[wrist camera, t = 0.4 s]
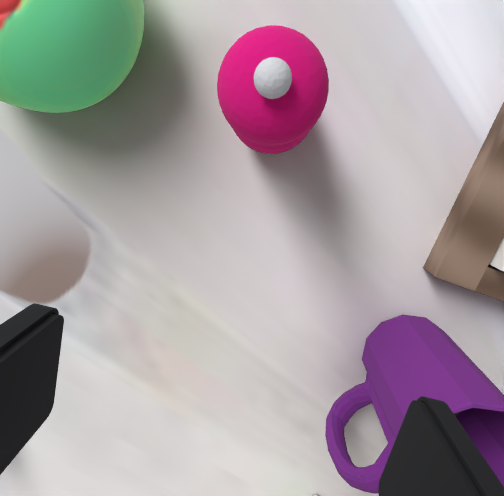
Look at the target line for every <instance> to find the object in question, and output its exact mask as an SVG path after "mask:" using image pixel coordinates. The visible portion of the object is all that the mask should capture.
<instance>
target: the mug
mask: <svg viewBox="0 0 504 496" xmlns="http://www.w3.org/2000/svg"><path fill="white" fill-rule="evenodd" d="M362 361H363V364H364V366H365V368H366V370H367V375H366V382H365V383H362V384H359V385H356V386H355V387H353V388H352V389H350V390H348V391H346V392H345V393H343V394H342V395H341V396H340V397H339V398H338V399H337V400H336V401H335V402H334V404H333V406H332V408H331V410H330V412H329V414H328V416H327V419H326V440H327V446H328V451H329V453H330V455H331V458H332V460H333V462H334V464H335V467H336V469H337V471H338V473H339V474H340V476H341V477H342V478H343V479H344V480H345V481H346V482H347V483H348V484H349V485H350V486H352V487H354V488H357V489H359V490H362V491H365V492H370V493H379V491H378V488H379V481H380V478H381V475H382V473H383V470H384V468H385V465H386V463H387V460H388V458H389V455H390V453H391V450H392V448H393V445H394V443H395V440H396V438H397V435H398V433H399V430H400V428H401V425H402V422H403V420H404V417H405V415H406V412H407V410H408V407H409V405H410V403H411V402H412V401H413V400H417V399H418V398H419V397H421V396H424V397H428V398H432V399H436V400H441V401H444V402H445V403H446V404H447V405H448V406H449V408H450V409H451V411H452V412H453V414H454V415H455V416H456V418H457V419H458V421H459V422H460V424H461V425H462V427H463V428H464V430H465V431H466V432H467V434H468V435H469V437H470V438H471V440H472V441H473V443H474V444H475V446H476V447H477V448H478V450H479V451H480V453H481V454H482V456H483V457H484V459H485V460H486V462H487V463H488V465H489V466H490V467H491V469H492V470H493V472H494V473H495V475H496V476H497V478H498V479H499V481H500V482H501V483H502V485H503V486H504V395H503V394H502V392H501V391H500V390H499V389H498V388H497V387H496V386H495V385H494V384H493V383H492V382H491V381H490V380H489V379H488V378H487V377H486V375H485V374H484V373H483V372H482V371H481V370H480V369H479V368H478V367H477V366H476V365H475V364H474V363H473V362H472V361H471V359H470V358H469V357H468V356H467V355H466V354H465V353H464V352H463V351H462V350H461V349H460V348H459V347H458V346H457V345H456V343H455V342H454V341H453V340H452V339H451V338H450V337H449V336H448V335H447V334H446V333H445V332H444V331H443V330H442V329H440V328H439V327H438V326H436V325H435V324H434V323H432V322H431V321H430V320H428V319H427V318H424V317H416V316H408V315H401V316H398V317H396V318H393V319H390V320H387V321H385V322H382V323H380V324H379V326H378V327H377V328H376V329H375V330H374V331H373V332H372V333H371V334H370V335H369V336H368V338H367V339H366V343H365V347H364V352H363V357H362ZM370 403H373V405H374V408H375V411H376V413H377V416H378V418H379V421H380V423H381V426H382V428H383V431H384V434H385V436H386V439H387V441H388V445H387V446H386V448H385V449H384V451H383V452H382V453H381V455H380V456H379V458H378V459H377V461H376V462H375V463H374V464H372V465H370V466H367V467H359V468H358V467H356V466H355V465H354V464H353V463H352V461H351V459H350V456H349V454H348V452H347V447H346V442H345V437H344V427H345V426H346V424H347V422H348V421H349V419H350V418H351V417H352V416H353V414H354V413H355V412H356V411H357V410H358V409H360V408H362V407H364V406H366V405H368V404H370Z"/></svg>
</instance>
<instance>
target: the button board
mask: <svg viewBox="0 0 504 496" xmlns="http://www.w3.org/2000/svg"><path fill="white" fill-rule="evenodd" d="M503 237H504V103H503V105H502V107H501V109H500V111H499V113H498V115H497V117H496V119H495V121H494V123H493V125H492V127H491V129H490V131H489V133H488V135H487V138H486V140H485V142H484V144H483V146H482V148H481V150H480V152H479V154H478V156H477V158H476V160H475V162H474V164H473V166H472V168H471V170H470V172H469V175H468V177H467V179H466V181H465V183H464V185H463V187H462V189H461V191H460V193H459V195H458V197H457V199H456V201H455V203H454V205H453V207H452V210H451V212H450V214H449V216H448V218H447V220H446V222H445V224H444V226H443V228H442V230H441V232H440V234H439V236H438V238H437V240H436V242H435V244H434V247H433V249H432V251H431V253H430V255H429V257H428V259H427V261H426V263H425V265H424V267H423V268H424V269H425V270H427V271H428V272H429V273H430V274H432V275H433V276H434V277H436V278H439V279H441V280H444V281H447V282H450V283H453V284H456V285H459V286H461V287H464V288H467V289H470V290H473V291H476V292H478V293H481V294H484V295H487V296H490V297H493V298H496V299H498V300H501V301H504V271H501V270H499V269H498V268H496V267H494V266H491V265H489V263H490V261H491V259H492V257H493V255H494V254H495V252H496V250H497V248H498V246H499V244H500V242H501V240H502V239H503Z"/></svg>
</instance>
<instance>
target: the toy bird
mask: <svg viewBox="0 0 504 496" xmlns="http://www.w3.org/2000/svg"><path fill="white" fill-rule="evenodd" d="M143 31H144V1H143V0H0V101H3V102H5V103H8V104H11V105H14V106H17V107H21V108H24V109H29V110H33V111H39V112H48V113H64V112H72V111H77V110H81V109H84V108H87V107H90V106H92V105H94V104H96V103H98V102H100V101H102V100H103V99H105V98H106V97H107V96H109V95H110V94H111V93H112V92H114V91H115V90H116V89H117V88H118V87H119V86H120V85H121V83H122V82H123V81H124V80H125V78H126V77H127V75H128V74H129V72H130V71H131V69H132V67H133V65H134V63H135V61H136V58H137V56H138V53H139V50H140V47H141V43H142V38H143Z"/></svg>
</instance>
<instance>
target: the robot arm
mask: <svg viewBox="0 0 504 496" xmlns="http://www.w3.org/2000/svg"><path fill="white" fill-rule="evenodd" d="M63 324H64V318H63V316H61V315H59V313H58V310H57V309H56V308H52V307H48V306H44V305H39V304H32V305H30V306H28V307H27V308H25V309H24V310H22V311H21V312H19V313H18V314H16V315H15V316H13V317H12V318H10V319H8V320H7V321H5V322H4V323H2V324H1V325H0V474H1V473H2V472H3V471H4V470H5V468H6V467H7V466H8V465H9V464H10V462H11V461H12V460H13V459H14V458H15V456H16V455H17V454H18V453H19V451H20V450H21V449H22V448H23V447H24V445H25V444H26V443H27V442H28V441H29V439H30V438H31V437H32V436H33V435H34V433H35V432H36V431H37V430H38V429H39V427H40V426H41V425H42V424H43V422H44V421H45V420H46V419H47V417H48V416H49V414H50V412H51V410H52V407H53V404H54V396H55V388H56V380H57V372H58V364H59V356H60V348H61V340H62V332H63ZM378 491H379V496H504V486H503V485H502V483H501V482H500V481H499V479H498V478H497V476H496V475H495V473H494V472H493V470H492V469H491V467H490V466H489V465H488V463H487V462H486V460H485V459H484V457H483V456H482V454H481V453H480V451H479V450H478V448H477V447H476V446H475V444H474V443H473V441H472V440H471V438H470V437H469V435H468V434H467V432H466V431H465V430H464V428H463V427H462V425H461V424H460V422H459V421H458V419H457V418H456V416H455V415H454V414H453V412H452V411H451V409H450V408H449V406H448V405H447V404H446V403H445V402H444V401H441V400H436V399H432V398H428V397H424V396H421V397H419V398H418V399H417V400H413V401H412V402H411V403H410V405H409V407H408V410H407V412H406V415H405V417H404V420H403V422H402V425H401V428H400V430H399V433H398V435H397V438H396V440H395V443H394V445H393V448H392V450H391V453H390V455H389V458H388V460H387V463H386V465H385V468H384V470H383V473H382V475H381V478H380V481H379V488H378Z"/></svg>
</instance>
